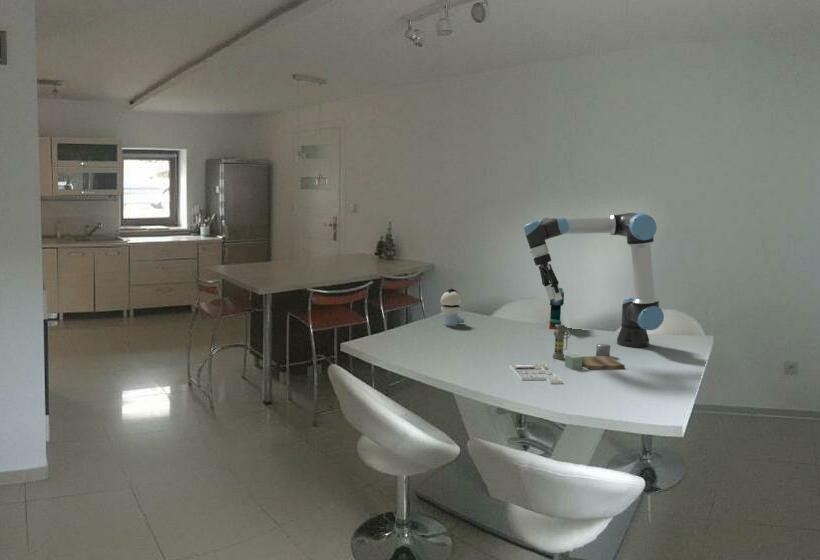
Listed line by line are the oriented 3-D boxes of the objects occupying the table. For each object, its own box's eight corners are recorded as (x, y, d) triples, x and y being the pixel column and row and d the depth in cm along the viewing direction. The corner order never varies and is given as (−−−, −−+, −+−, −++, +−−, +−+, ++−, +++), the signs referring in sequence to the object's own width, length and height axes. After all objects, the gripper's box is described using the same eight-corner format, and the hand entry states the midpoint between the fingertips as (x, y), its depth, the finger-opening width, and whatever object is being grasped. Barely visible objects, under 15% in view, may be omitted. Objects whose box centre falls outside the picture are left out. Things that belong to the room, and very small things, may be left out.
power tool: (562, 334, 354) (564, 296, 351) (548, 333, 355) (550, 296, 353) (561, 323, 385) (563, 288, 382) (549, 322, 386) (550, 287, 384)
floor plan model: (544, 367, 289) (544, 363, 289) (563, 384, 265) (563, 380, 264) (509, 368, 288) (509, 364, 288) (525, 385, 263) (525, 380, 263)
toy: (469, 325, 375) (470, 289, 373) (454, 328, 366) (455, 291, 364) (447, 320, 386) (448, 286, 384) (432, 323, 377) (433, 288, 374)
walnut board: (608, 359, 303) (608, 355, 303) (624, 368, 288) (624, 365, 287) (574, 360, 301) (574, 356, 301) (588, 369, 285) (588, 366, 285)
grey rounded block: (606, 354, 313) (606, 343, 312) (611, 357, 307) (612, 346, 306) (593, 354, 312) (594, 344, 311) (599, 357, 306) (599, 347, 305)
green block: (574, 365, 292) (575, 354, 291) (581, 368, 287) (582, 356, 287) (564, 366, 290) (565, 355, 289) (572, 369, 285) (572, 357, 285)
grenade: (551, 356, 307) (552, 323, 305) (565, 356, 307) (567, 323, 305) (555, 360, 300) (557, 327, 298) (570, 360, 300) (572, 327, 298)
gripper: (527, 258, 322) (541, 301, 322) (539, 256, 297) (554, 303, 297) (542, 253, 322) (556, 296, 322) (555, 251, 297) (570, 297, 297)
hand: (555, 299), depth 310 cm, fingers open, 13 cm apart
